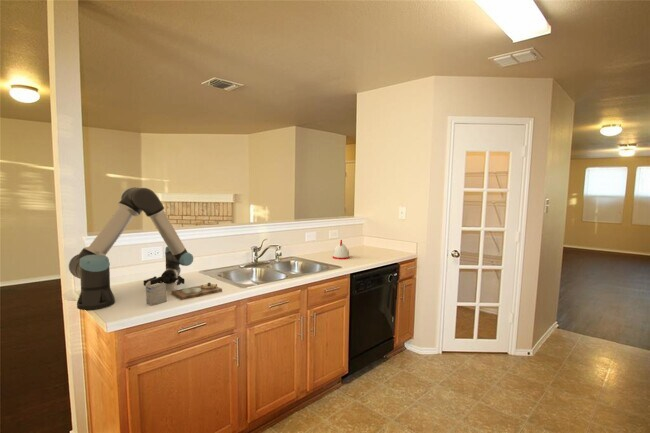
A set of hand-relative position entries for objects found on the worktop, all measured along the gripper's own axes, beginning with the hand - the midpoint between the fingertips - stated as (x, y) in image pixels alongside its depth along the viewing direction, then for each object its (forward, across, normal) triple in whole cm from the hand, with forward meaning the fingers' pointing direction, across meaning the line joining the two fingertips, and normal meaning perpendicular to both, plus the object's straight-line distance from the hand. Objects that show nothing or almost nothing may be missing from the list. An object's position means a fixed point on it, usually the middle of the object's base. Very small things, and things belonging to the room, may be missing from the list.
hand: (161, 286), depth 179 cm
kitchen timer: (-85, -120, -6) cm, 147 cm away
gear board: (-5, -17, -6) cm, 19 cm away
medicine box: (+9, 0, -6) cm, 11 cm away
